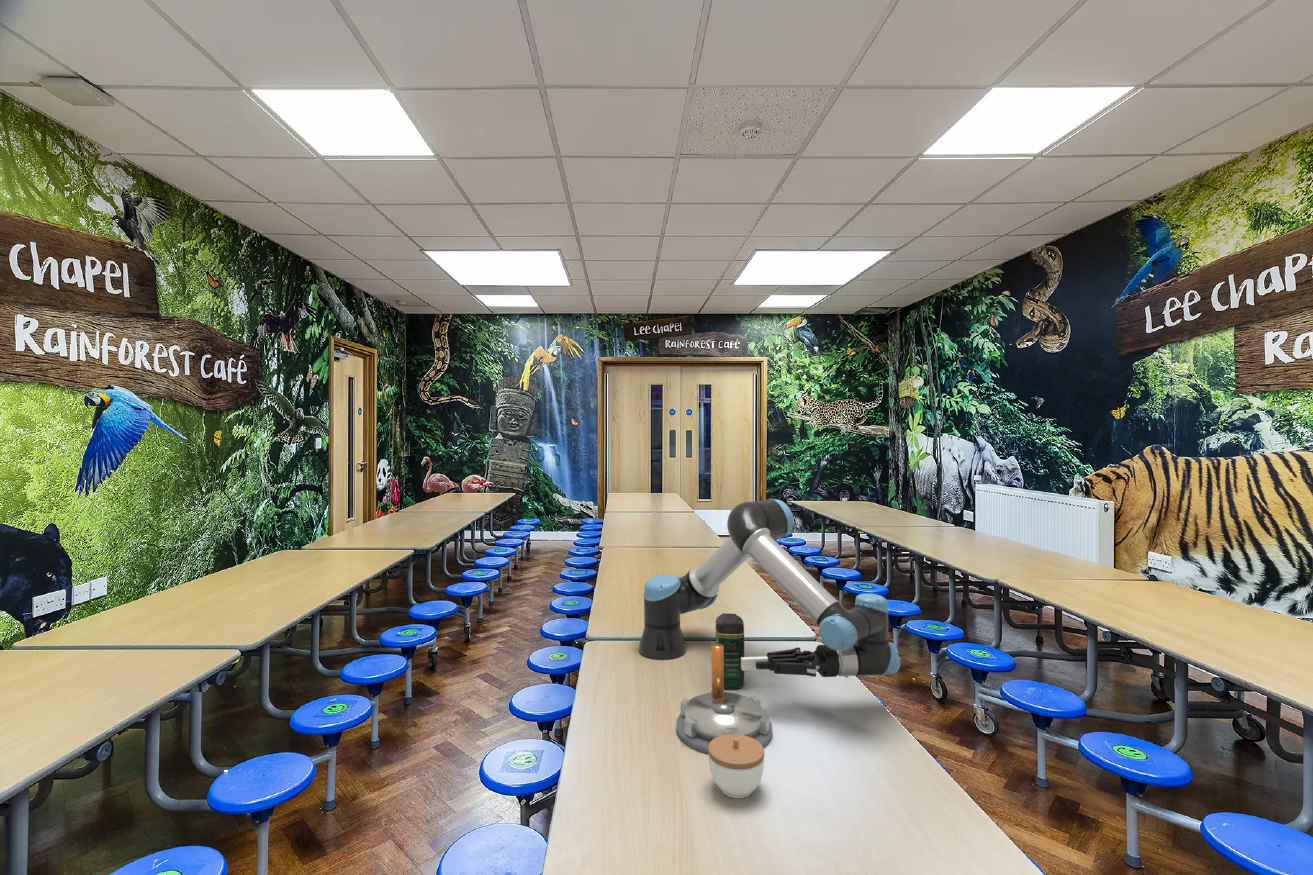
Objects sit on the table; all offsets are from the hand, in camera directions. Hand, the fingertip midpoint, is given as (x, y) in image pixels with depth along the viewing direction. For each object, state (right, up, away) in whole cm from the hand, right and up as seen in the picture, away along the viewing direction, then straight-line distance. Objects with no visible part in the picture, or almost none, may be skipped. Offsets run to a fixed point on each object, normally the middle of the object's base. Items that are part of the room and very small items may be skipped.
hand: (741, 663), depth 136 cm
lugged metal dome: (-5, -10, -8) cm, 14 cm away
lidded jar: (-6, -12, -30) cm, 33 cm away
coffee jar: (0, -13, +18) cm, 22 cm away
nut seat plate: (-5, -12, -8) cm, 15 cm away
